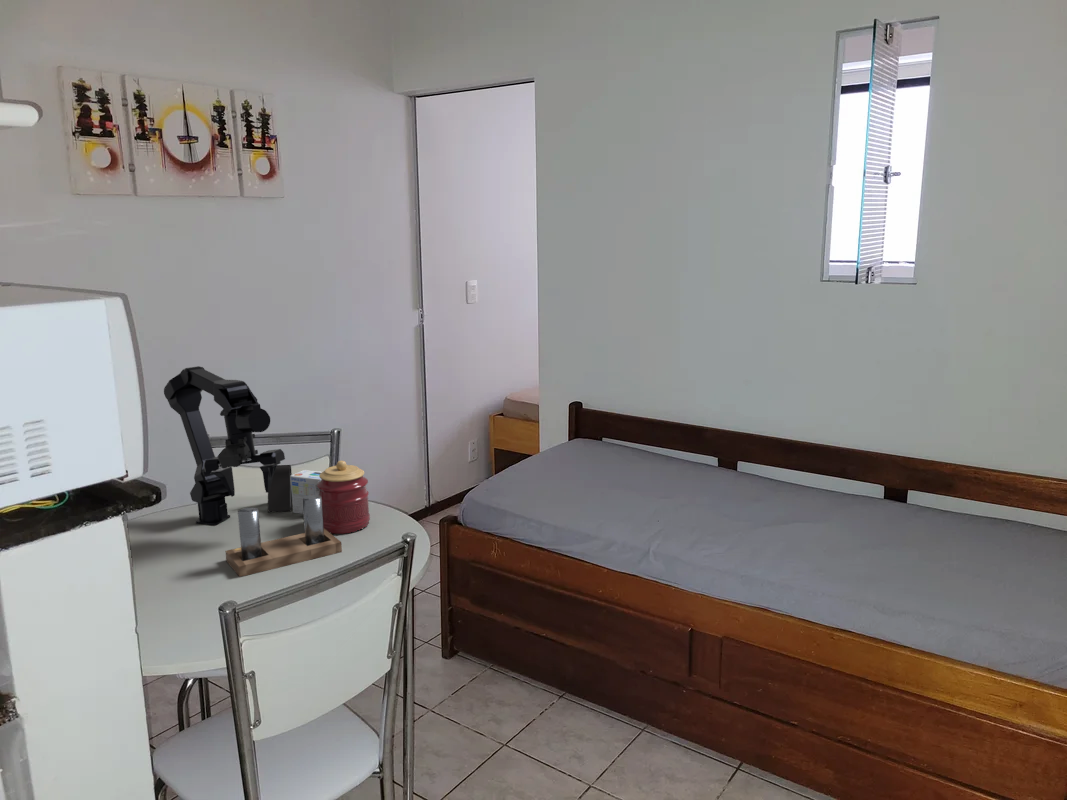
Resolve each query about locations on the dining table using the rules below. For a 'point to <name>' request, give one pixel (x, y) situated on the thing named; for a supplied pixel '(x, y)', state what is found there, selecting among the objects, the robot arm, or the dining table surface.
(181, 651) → the dining table surface
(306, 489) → the light bulb box
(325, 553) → the wooden slotted holder
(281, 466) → the phone stand
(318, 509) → the cylinder
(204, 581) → the dining table surface
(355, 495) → the canister
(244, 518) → the cylinder
